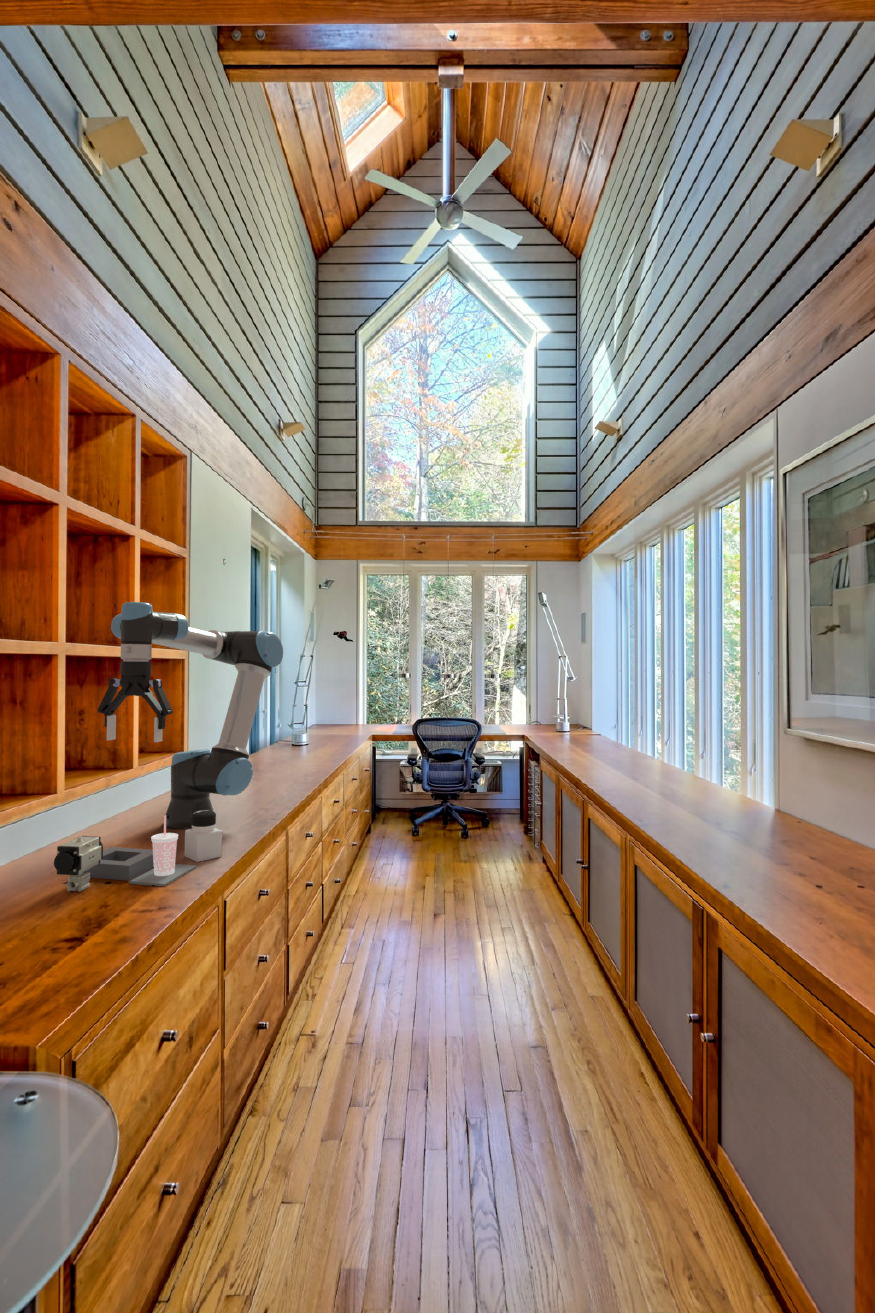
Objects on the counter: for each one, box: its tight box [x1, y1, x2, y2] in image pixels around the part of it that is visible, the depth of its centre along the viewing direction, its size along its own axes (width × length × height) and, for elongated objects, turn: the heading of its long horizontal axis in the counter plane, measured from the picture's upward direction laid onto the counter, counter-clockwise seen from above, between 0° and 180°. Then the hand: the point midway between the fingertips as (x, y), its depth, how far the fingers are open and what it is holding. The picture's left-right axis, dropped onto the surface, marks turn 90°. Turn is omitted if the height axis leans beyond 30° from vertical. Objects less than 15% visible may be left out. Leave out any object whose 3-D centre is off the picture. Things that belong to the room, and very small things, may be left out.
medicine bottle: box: [184, 810, 223, 863], centre depth 177 cm, size 7×7×12 cm
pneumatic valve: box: [53, 835, 104, 893], centre depth 152 cm, size 6×12×12 cm, turn 176°
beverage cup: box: [150, 814, 179, 876], centre depth 162 cm, size 6×6×14 cm
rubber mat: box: [129, 863, 197, 887], centre depth 162 cm, size 14×9×1 cm, turn 171°
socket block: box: [82, 846, 154, 881], centre depth 165 cm, size 13×14×4 cm
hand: (134, 740), depth 176 cm, fingers open, 13 cm apart
